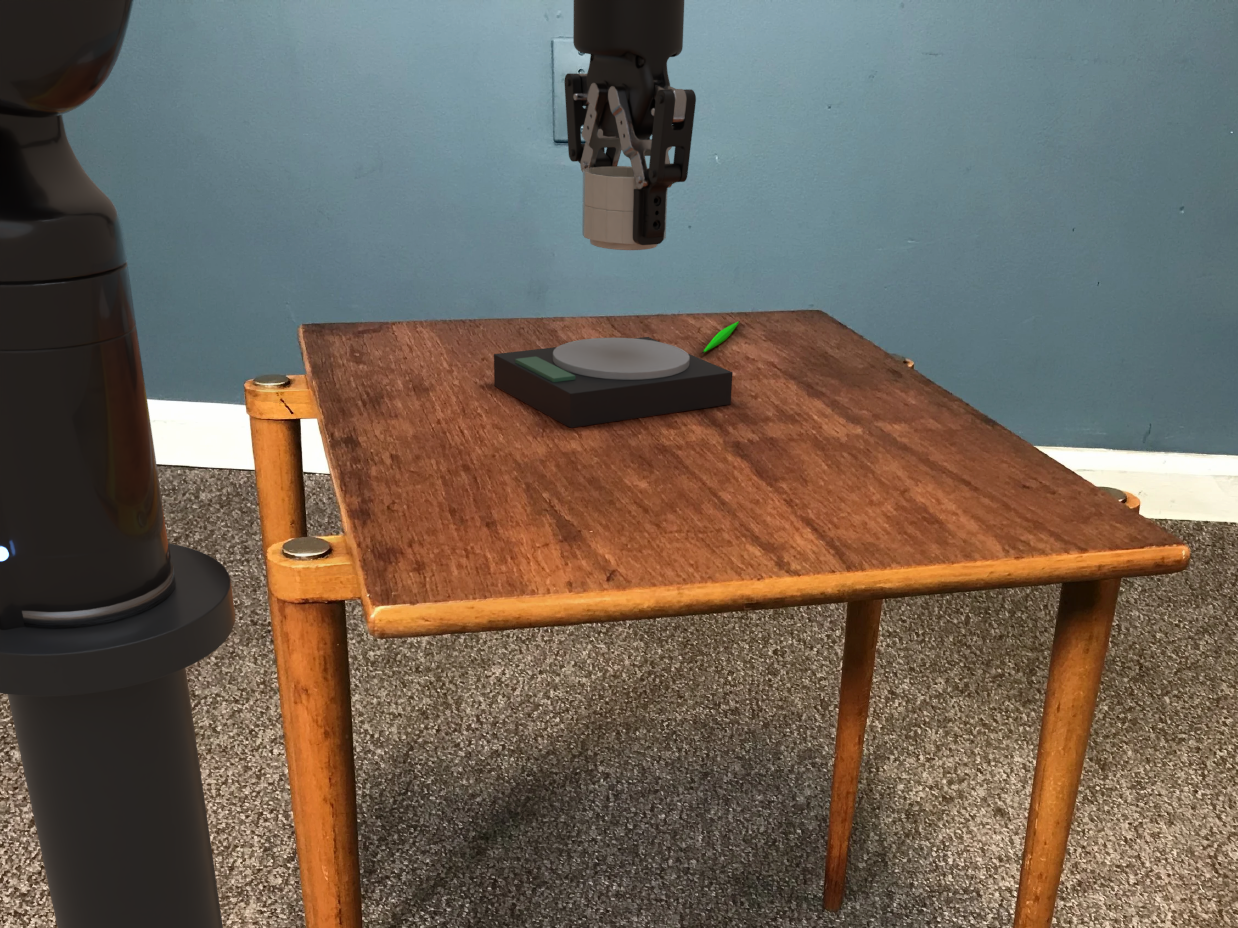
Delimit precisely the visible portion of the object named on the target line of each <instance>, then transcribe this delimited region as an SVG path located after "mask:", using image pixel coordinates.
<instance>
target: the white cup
mask: <svg viewBox="0 0 1238 928" xmlns="http://www.w3.org/2000/svg"><path fill="white" fill-rule="evenodd" d="M647 169H649V167H647ZM634 189H638V188H637V187H636V184H635V180H634V175H633V171H632V166H631V165H630V166H629V165H617V166H597V167H589V168H586V169H584V170H583V172H582V217H581V218H582V219H581V220H582V223H581V224H582V226H581V229H582V230H581V231H582V233H581V234H582V237H583V238H585V239H587V240H589V243H590V245H592V246H594V247H598V248H601V249H606V250H607V249H608V250H615V251H616V250H617V251H643V250H651V249H655V248H657V247H658V245H659V244H653V245H640V244H637V243H635V242H634V240H633V205H634ZM668 189H669V188H667V191H666V212H665V231H664V239H663V241H664V240H666V238H667V217H668V215H667V214H668V213H667V212H668V208H667V207H668Z"/></svg>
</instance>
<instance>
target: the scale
mask: <svg viewBox="0 0 1238 928" xmlns="http://www.w3.org/2000/svg"><path fill="white" fill-rule="evenodd" d="M493 379H494V380H493V382H494V387H496V388H497V389H499V390H501V391H503V392H504V393H507V394H508V395H510V396H511V397H514V398H515V399H517V400H518V401H521V402H523V403H525V404H527V405H528V406H529V407H532V408H533V409H535V410H537V411H539V412H541V413H543V414H544V415H546V416H548V417H550V418H551V419H553V420H554V421H557V422H559V423H560V424H562V425H564V426H566V427H567V428H569V429H573V428H580V427H587V426H593V425H601V424H606V423H607V424H608V423H613V422H620V421H627V420H628V421H629V420H634V419H640V418H647V417H654V416H662V415H667V414H674V413H681V412H688V411H694V410H695V411H696V410H701V409H709V408H714V407H715V408H716V407H722V406H723V407H724V406H729V405H731V404H732V391H733V371H730V370H729V369H726V368H724V367H721V366H719V365H716V364H714V363H712V362H710V361H708V360H704V359H703V358H699V357H698V356H695V355H693V354H690V353H688V352H687V351H685V350H684V349H682V348H680V347H678V346H676V345H673V344H669V343H665V342H661V341H659V340H657V339H654V338H652V337H650V336H642V337H635V338H634V337H633V338H631V337H593V338H583V339H577V340H574V341H569V342H568V341H567V342H566V343H562V344H559V345H558V346H554V347H545V348H535V349H526V350H517V351H509V352H500V353H494V354H493Z"/></svg>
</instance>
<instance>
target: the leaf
mask: <svg viewBox="0 0 1238 928" xmlns="http://www.w3.org/2000/svg"><path fill="white" fill-rule="evenodd" d="M740 322H741V320H739V321H736V322H734V323H732V324H730V325H728V326H726V327H724V328H723V329H721V330H719V332H717V334H716V335H714V337H713V338H712V339H711V340H710V342H709V343H708V344H707V345H706V347H705V348H704V349H703V351H702V352H701V354H704V353H706V352H708V351H710V350H712V349H713V348H715V347H717V346H719V345H720V344H722V343H724V342H725V341H726V340H727V339H728V338H729V337H730V336H731V335H732V333H733V332H734V331H735V330H736V328H737V326H738V325H739V324H740Z"/></svg>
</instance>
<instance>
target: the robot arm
mask: <svg viewBox="0 0 1238 928" xmlns="http://www.w3.org/2000/svg"><path fill="white" fill-rule="evenodd" d="M134 1H135V0H0V629H1V630H8V629H14V628H20V627H37V628H75V627H85V626H93V625H98V624H104V623H109V622H114V621H117V620H121V619H125V618H128V617H131V616H134V615H137V614H140V613H142V612H145V611H147V610H149V609H151V608H153V607H155V606H157V605H158V604H160V603H161V602H163V601H164V600H165V599H166V598H168V597H169V596H170V594H171V593H172V592H173V590H174V588H175V576H174V569H173V564H172V562H171V561H170V558H171V555H170V548H169V545H168V543H169V541H168V534H167V527H166V520H165V514H164V506H163V505H164V504H163V499H162V492H161V486H160V479H159V472H158V466H157V465H158V464H157V459H156V458H157V457H156V451H155V444H154V437H153V430H152V423H151V417H150V416H151V415H150V411H149V410H150V409H149V403H148V396H147V389H146V383H145V376H144V370H143V369H144V368H143V361H142V356H141V349H140V341H139V335H138V328H137V327H138V326H137V321H136V320H137V319H136V313H135V307H134V299H133V292H132V285H131V279H130V272H129V266H128V265H129V264H128V254H127V247H126V241H125V234H124V229H123V223H122V218H121V216H120V213H119V210H118V208H117V206H116V205H115V204H114V202H113V200H112V199H111V198H110V197H109V196H108V195H107V194H106V193H105V192H104V191H103V190H102V189H101V188H100V187H99V186H98V185H97V184H96V183H95V182H94V180H93V179H92V178H91V177H90V176H89V175H88V173H87V172H86V170H85V169H84V168H83V166H82V165H81V162H80V160H79V159H78V158H77V156H76V154H75V152H74V150H73V147H72V144H71V142H70V140H69V136H68V132H67V129H66V124H65V123H66V122H65V120H64V116H63V114H66V113H70V112H71V111H74V110H76V109H78V108H79V107H81V106H82V105H84V104H85V103H87V102H88V101H89V100H90V99H91V98H93V97H94V96H95V94H96V93H98V92H99V90H100V89H101V88H102V87H103V85H104V84H105V83H106V81H107V80H108V79H109V77H110V75H111V73H112V71H113V69H114V67H115V65H116V63H117V61H118V59H119V56H120V54H121V51H122V48H123V45H124V43H125V39H126V35H127V31H128V28H129V24H130V20H131V15H132V11H133V6H134ZM684 22H685V0H573V34H572V35H573V38H572V39H573V40H572V41H573V42H572V43H573V47H574V48H575V50H576V51H578V52H579V53H581V54H587V55H590V57H589V64H588V68H587V73H566V75H565V76H564V82H563V83H564V98H565V114H566V131H567V133H566V135H567V149H568V150H567V152H568V158H569V160H570V161H571V162H574V163H575V162H577V163H579V164H580V171H581V172H582V173H583V170H584V169H586V168H589V167H597V166H619V165H618V164H619V160H620V157H621V154H623V155H624V156H625V157H627V158H628V159H629V161H630V167H632V171H633V175H634V180H635V184H636V187H637V188H638V189H634V205H633V240H634V242H635V243H637V244H640V245H653V244H658V245H660V244H661V243H663V241H664V240H665V239H664V231H665V212H666V191H667V192H668V190H667V188H668V189H669V188H671V187H672V186H673V184H677V183H685V182H686V180H687V179H688V176H689V175H688V173H689V165H690V157H691V149H692V148H691V147H692V137H693V130H694V121H695V113H696V112H695V111H696V102H697V97H696V92H695V90H693V89H690V88H689V89H687V88H685V89H684V88H675V87H673V86H671V82H670V78H669V72H668V60H669V59H670V58H674V57H677V56H679V55H680V54H681V53H682V51H683V48H684V26H685V25H684ZM582 126H583V127H582ZM581 128H582V129H581ZM582 139H583V140H584V141H585V143H582ZM673 147H674V155H673V162H672V163H671V161H670V155H669V151H671V149H672V148H673ZM605 148H606V150H605ZM646 157H649V164H648V165H647V159H646ZM647 168H649V169H647ZM663 239H664V240H663Z"/></svg>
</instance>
